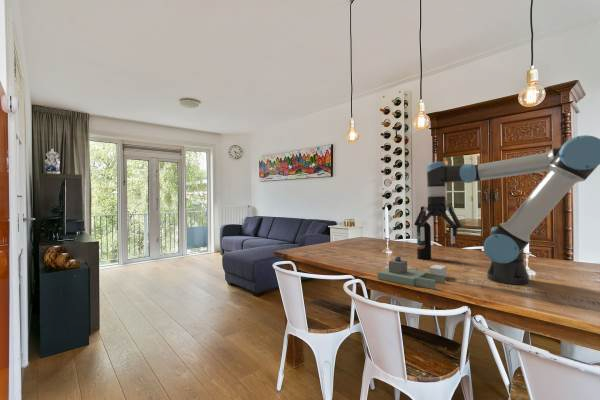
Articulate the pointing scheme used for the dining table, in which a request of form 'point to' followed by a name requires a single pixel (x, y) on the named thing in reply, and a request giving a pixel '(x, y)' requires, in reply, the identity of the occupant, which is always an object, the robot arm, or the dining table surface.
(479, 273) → the dining table surface
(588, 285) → the dining table surface
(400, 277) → the stepped grey base
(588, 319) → the dining table surface
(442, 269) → the pale grey block
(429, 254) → the wine bottle
